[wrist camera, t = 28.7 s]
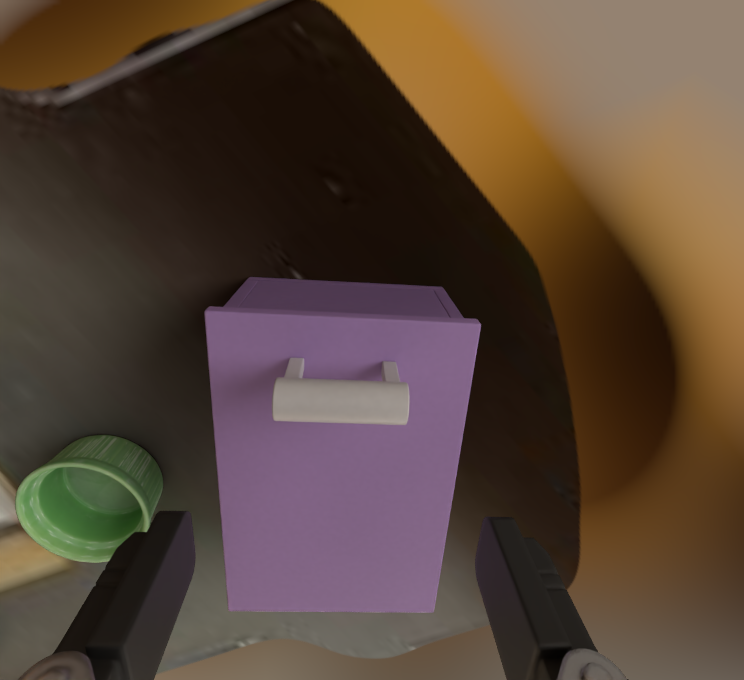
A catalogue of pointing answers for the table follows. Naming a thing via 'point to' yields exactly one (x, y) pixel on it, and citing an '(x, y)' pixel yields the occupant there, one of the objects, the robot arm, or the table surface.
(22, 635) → the table surface
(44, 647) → the table surface
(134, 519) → the ramekin
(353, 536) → the lid
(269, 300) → the file box
